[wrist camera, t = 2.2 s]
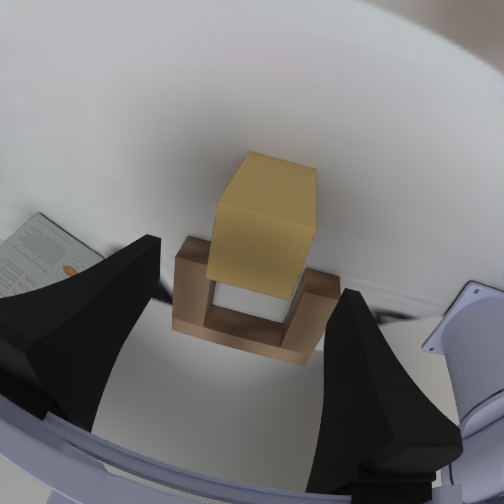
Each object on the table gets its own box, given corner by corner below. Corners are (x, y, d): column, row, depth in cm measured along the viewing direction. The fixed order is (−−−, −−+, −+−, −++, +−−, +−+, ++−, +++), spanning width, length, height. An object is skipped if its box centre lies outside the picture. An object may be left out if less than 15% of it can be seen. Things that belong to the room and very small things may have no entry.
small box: (33, 255, 27) (-45, 344, 16) (38, 210, 24) (-62, 304, 13) (93, 299, 29) (25, 403, 18) (107, 258, 25) (18, 379, 14)
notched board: (339, 277, 22) (341, 301, 20) (306, 342, 26) (304, 365, 24) (188, 236, 22) (175, 256, 20) (181, 308, 27) (171, 329, 25)
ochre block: (315, 169, 18) (316, 228, 12) (297, 225, 20) (289, 300, 15) (249, 151, 18) (217, 202, 12) (236, 209, 20) (205, 277, 15)
